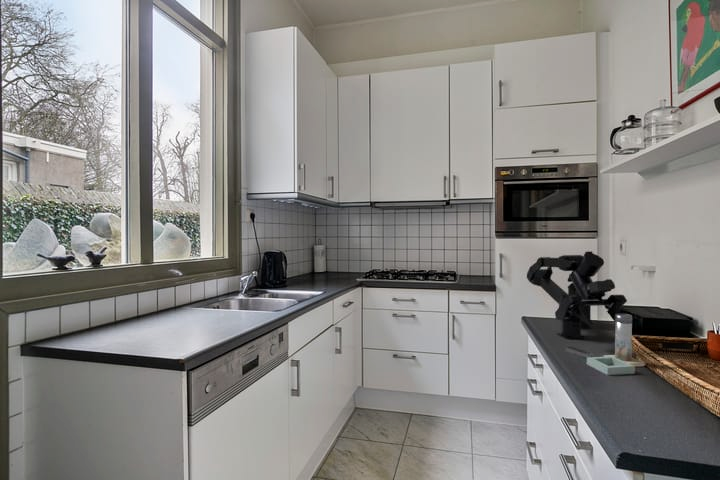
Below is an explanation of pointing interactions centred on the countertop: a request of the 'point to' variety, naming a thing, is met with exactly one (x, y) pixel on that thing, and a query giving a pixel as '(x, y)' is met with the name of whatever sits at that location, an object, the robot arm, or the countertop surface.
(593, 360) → the socket
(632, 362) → the beige square plate
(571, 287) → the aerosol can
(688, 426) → the countertop surface
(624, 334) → the grey round peg
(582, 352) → the bar
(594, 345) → the countertop surface
